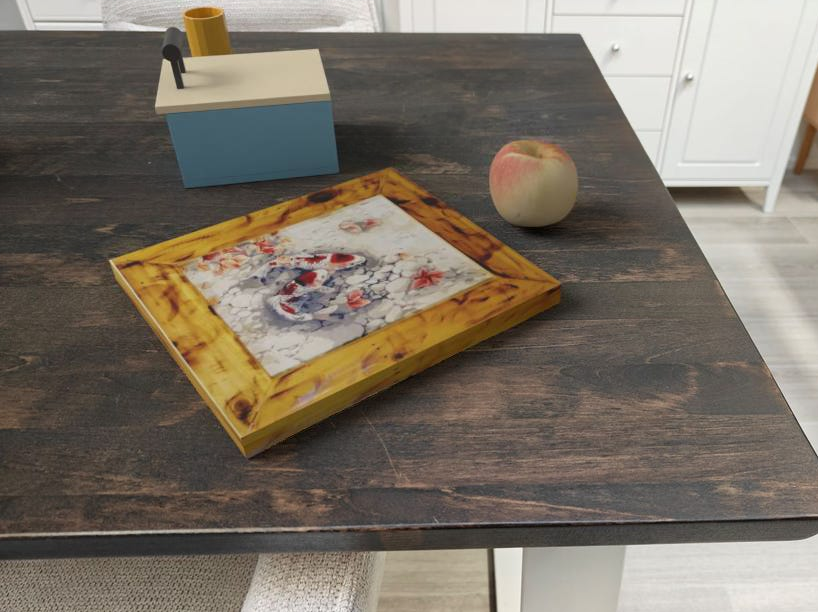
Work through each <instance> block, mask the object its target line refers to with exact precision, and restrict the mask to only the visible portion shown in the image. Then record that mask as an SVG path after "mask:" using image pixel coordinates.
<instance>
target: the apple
mask: <svg viewBox="0 0 818 612" xmlns="http://www.w3.org/2000/svg"><path fill="white" fill-rule="evenodd" d="M488 184H489V192H490V195H491V199H492V202H493V205H494V207H495V209H496V211H497V213H498V214H499V216H501V218H502V219H503V220H505V221H506V222H508V223H509V224H511V225H513V226H517V227H523V228H524V227H525V228H527V227H528V228H539V227H546V226H550V225H553V224H557V223H558V222H560V221H562V220H563V219H565V218H566V217H567V216H568V215H569V214H570V213H571V211H572V209H573V208H574V206H575V203H576V201H577V198H578V193H579V176H578V171H577V167H576V163H575V162H574V160H573V159H572V157H571V156H570V154H569V153H568V152H567V151H565V150H564V149H563V148H561V147H560V146H558V145H556V144H553V143H549V142H545V141H541V140H530V139H529V140H526V139H522V140H515V141H510V142H509V143H506V144H504V145H503V146H502V147H501V148H500V149H499V150H498V151H497V153H496V154H495V156H494V157H493V159H492V162H491V165H490V169H489V176H488Z"/></svg>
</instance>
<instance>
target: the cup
mask: <svg viewBox="0 0 818 612" xmlns="http://www.w3.org/2000/svg"><path fill="white" fill-rule="evenodd" d="M181 16H182V21H183V25H184V30H185V33H186V38H187V42H188V47H189V51H190V55H191V57H203V56H218V55H233V54H234V53H233V50H232V45H231V38H230V34H229V29H228V24H227V19H226V14H225V10H224V9H223V8H220V7H218V6H217V7H216V6H196V7H192V8H189V9H186V10H183V12H182V13H181Z"/></svg>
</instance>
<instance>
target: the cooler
mask: <svg viewBox="0 0 818 612" xmlns="http://www.w3.org/2000/svg"><path fill="white" fill-rule="evenodd" d="M165 118H166V121H167V125H168V129H169V133H170V136H171V137H170V138H171V140H172V143H173V149H174V151H175V155H176V159H177V162H178V166H179V170H180V173H181V178H182V181H183V185H184V188H185V189H192V188H193V189H195V188H202V187H204V188H205V187H212V186H213V187H214V186H224V185H232V184H233V185H234V184H245V183H251V182H253V183H254V182H263V181H272V180H283V179H294V178H303V177H304V178H305V177H314V176H324V175H334V174H340V168H339V167H340V166H339V160H338V149H337V141H336V140H337V139H336V133H335V124H334V116H333V107H332V100H331V101H319V102H306V103H294V104H281V105H269V106H256V107H243V108H231V109H218V110H206V111H193V112H181V113H168V114H165Z"/></svg>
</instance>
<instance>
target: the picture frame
mask: <svg viewBox="0 0 818 612" xmlns="http://www.w3.org/2000/svg"><path fill="white" fill-rule="evenodd" d="M108 261H109V263H110V267H111V269H112V272H113V275H114V277H115V280H116V282H117V283H118V284H119V286H120V287H121V289H123V291H124V292H125V295H126V296H127V297H128V298H129V299H130V301H131V302H132V304H133V305H134V306H135V308H136V309H137V311H138V312H139V314H141V316H142V318H143V319H144V320H145V322H146V323H147V324H148V326H149V327H150V328H151V330H152V331H153V333H154V334H155V336H157V338H158V339H159V341H160V342H161V344H162V345H163V346H164V347H165V349H166V350H167V352H168V351H169V352H168V353H169V355H170V356H171V357H172V358H173V360H174V361H175V363H176V362H177V363H176V365H178V367H179V366H180V367H179V368H180V370H181V371H182V370H183V371H182V373H183V374H184V375H185V374H186V375H185V376H186V377H188V378H187V379H188V380H189V382H190V381H191V382H190V384H191V385H192V386H193V387H194V389H195V388H196V389H195V390H196V392H197V393H198V394H199V395H200V397H201V398H202V399H203V401H204V402H205V404H206V405H207V406H208V408H209V410H210V411H211V413H213V415H214V417H216V419H217V420H218V422H219V421H220V422H219V423H220V424H221V426H222V427H223V429H224V430H225V431H226V433H227V434H228V435H229V437H230V438H231V440H232V441H233V443H236V444H235V445H236V447H237V448H238V450H240V452H241V453H242V455H243V456H244V458H245V459H246V460H248V459H250V458H252V457H254V456H256V455H259V454H260V453H262V452H264V451H266V450H268V449H270V448H272V447H273V446H272V445H274V446H276V445H278V444H280V443H282V442H284V441H286V440H287V439H286V438H288V437H290V436H292V435H293V434H295V433H297V432H299V431H300V430H303V429H304V428H308V427H309V426H310V425H313V424H314V423H316V422H319V421H320V420H321V419H324V418H327V417H328V416H330V415H332V414H333V413H336V412H339V411H340V410H341V409H344V408H345V407H348V406H349V405H352V404H354V403H356V402H358V401H360V400H362V399H363V398H366V397H368V396H370V395H372V394H374V393H376V392H379V391H380V390H382V389H384V388H386V387H388V386H391V385H393V384H394V383H397V382H399V381H402V380H403V379H405V378H407V377H410V376H412V375H413V374H415V373H418V372H420V371H422V370H425V369H426V368H428V367H430V366H432V365H433V364H437V363H439V362H441V361H442V360H444V359H446V358H448V357H451V356H453V355H455V354H457V353H459V352H461V351H463V350H465V349H467V348H469V347H471V346H473V345H475V344H477V343H479V342H481V341H483V340H485V341H487V340H489V339H491V338H493V337H495V336H497V335H499V334H501V333H503V332H505V331H508V330H509V329H511V328H513V327H515V326H517V325H519V324H522V323H523V322H525V321H527V320H529V319H531V318H533V317H535V316H537V315H539V314H541V313H543V312H545V311H547V310H549V309H551V308H553V307H555V306H557V305H559V304H560V303H561V296H562V288H563V283H562V282H560V281H559V280H558V279H556V278H555V277H553V276H552V275H550V274H549V273H548V272H546V271H544V269H541V268H540V267H539V266H537V265H535V264H534V263H533V262H531V261H530V260H528V259H526V258H525V257H524V256H522V255H521V254H520V253H518V252H516V251H515V250H514V249H513V248H511V247H509V246H508V245H506V244H505V243H503V242H502V241H500V239H497V238H496V237H494V236H493V235H492V234H490V233H489V232H487V231H486V230H484V229H483V228H482V227H480V226H479V225H477V224H476V223H474V222H472V221H471V220H469V219H468V218H467V217H466V216H464V215H462V214H461V213H459V212H458V211H456V210H455V209H453V208H452V207H450V206H449V205H447V204H446V203H445V202H443V201H442V200H440V199H439V198H438V197H436V196H434V195H433V194H431V192H429V191H427V190H425V189H424V188H423V187H422V186H420V185H418V184H417V183H415V182H414V181H412V180H411V179H410V178H408V177H407V176H405V175H404V174H402V173H400V171H398V170H396V169H395V168H394V167H392V166H390V167H387V168H384V169H381V170H378V171H375V172H371V173H369V174H365V175H362V176H360V177H357V178H354V179H350V180H347V181H345V182H341V183H339V184H336V185H332V186H330V187H327V188H323V189H321V190H317V191H314V192H311V193H308V194H305V195H302V196H300V197H296V198H293V199H290V200H287V201H283V202H281V203H278V204H275V205H272V206H269V207H266V208H263V209H259V210H256V211H254V212H250V213H247V214H244V215H241V216H239V217H236V218H233V219H230V220H227V221H223V222H221V223H218V224H214V225H212V226H208V227H205V228H202V229H199V230H196V231H193V232H190V233H187V234H184V235H180V236H178V237H175V238H172V239H170V240H169V239H168V240H166V241H163V242H159V243H156V244H154V245H151V246H147V247H144V248H141V249H137V250H135V251H133V252H129V253H126V254H123V255H120V256H117V257H114V258H111V259H108ZM556 304H557V305H556ZM554 305H555V306H554ZM552 306H553V307H552ZM550 307H551V308H550ZM546 309H547V310H546ZM544 310H545V311H544ZM540 312H541V313H540ZM538 313H539V314H538ZM502 331H503V332H502ZM500 332H501V333H500ZM492 336H493V337H492ZM490 337H491V338H490ZM488 338H489V339H488ZM486 339H487V340H486ZM483 342H484V341H483ZM481 343H482V342H481ZM479 344H480V343H479ZM477 345H478V344H477ZM475 346H476V345H475ZM473 347H474V346H473ZM471 348H472V347H471ZM469 349H470V348H469ZM467 350H468V349H467ZM465 351H466V350H465ZM463 352H464V351H463ZM461 353H462V352H461ZM459 354H460V353H459ZM457 355H458V354H457ZM455 356H456V355H455ZM453 357H454V356H453ZM451 358H452V357H451ZM441 363H442V362H441ZM439 364H440V363H439ZM437 365H438V364H437ZM425 371H426V370H425ZM308 429H309V428H308ZM292 437H293V436H292ZM290 438H291V437H290ZM285 439H286V440H285ZM288 439H289V438H288ZM283 440H284V441H283ZM281 441H282V442H281ZM279 442H280V443H279ZM277 443H278V444H277ZM271 446H272V447H271ZM265 449H266V450H265Z"/></svg>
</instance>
